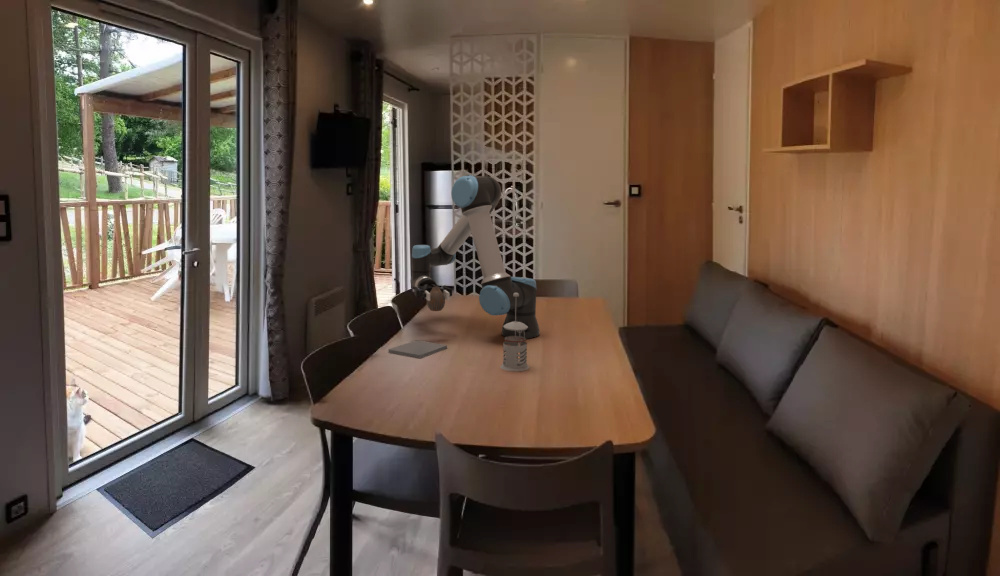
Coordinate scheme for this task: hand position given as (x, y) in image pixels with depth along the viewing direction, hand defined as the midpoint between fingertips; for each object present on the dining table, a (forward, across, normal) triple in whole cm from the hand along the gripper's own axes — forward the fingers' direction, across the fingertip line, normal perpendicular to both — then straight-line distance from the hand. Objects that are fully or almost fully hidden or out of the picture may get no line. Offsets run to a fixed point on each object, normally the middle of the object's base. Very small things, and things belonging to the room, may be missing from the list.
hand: (438, 296), depth 238 cm
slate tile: (+7, +9, -18) cm, 21 cm away
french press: (+35, -18, -18) cm, 43 cm away
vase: (-5, 0, -6) cm, 8 cm away
